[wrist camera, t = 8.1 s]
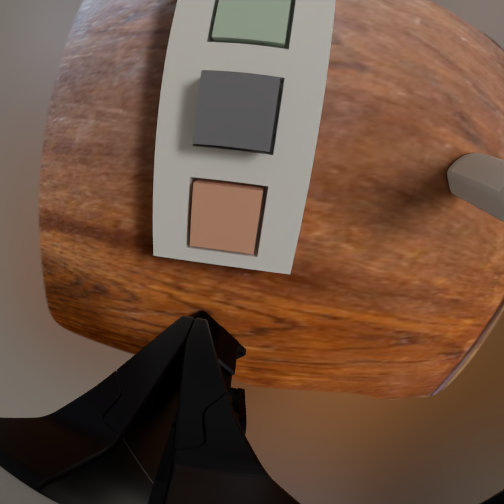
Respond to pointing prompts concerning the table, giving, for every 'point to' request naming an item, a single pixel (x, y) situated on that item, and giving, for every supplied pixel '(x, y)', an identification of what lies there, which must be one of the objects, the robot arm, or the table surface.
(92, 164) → the table surface
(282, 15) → the sage key
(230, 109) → the charcoal key
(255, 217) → the terracotta key
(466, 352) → the table surface
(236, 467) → the robot arm
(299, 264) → the table surface
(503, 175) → the eye dropper bottle
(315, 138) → the keypad frame
